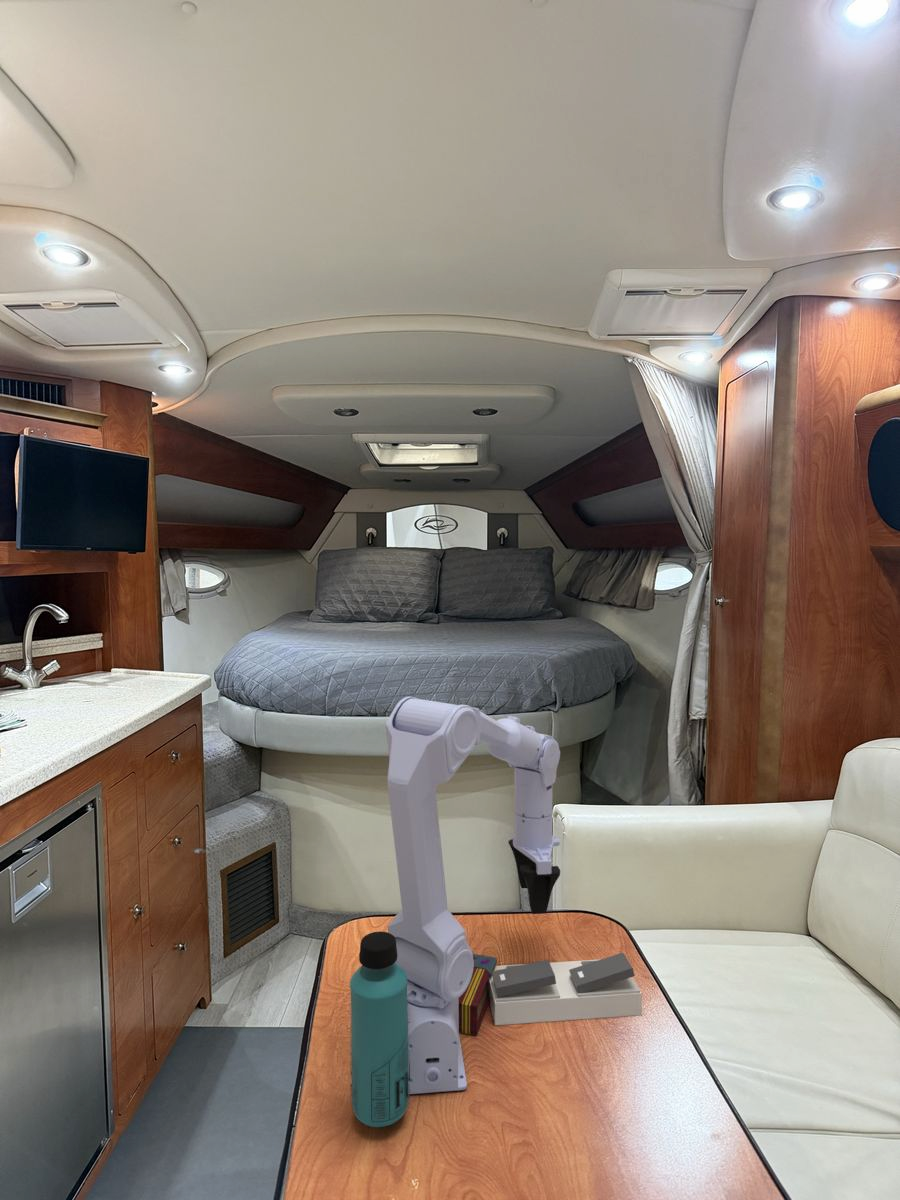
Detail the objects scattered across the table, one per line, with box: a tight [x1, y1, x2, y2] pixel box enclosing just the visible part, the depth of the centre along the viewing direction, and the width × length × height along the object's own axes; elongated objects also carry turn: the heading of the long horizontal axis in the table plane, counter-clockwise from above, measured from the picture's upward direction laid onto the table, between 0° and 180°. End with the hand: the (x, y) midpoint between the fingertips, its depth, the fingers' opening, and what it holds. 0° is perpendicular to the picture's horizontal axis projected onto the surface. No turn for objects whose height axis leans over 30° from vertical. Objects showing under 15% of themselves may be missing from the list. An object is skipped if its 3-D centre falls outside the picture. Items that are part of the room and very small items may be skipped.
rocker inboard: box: [492, 958, 556, 997], centre depth 88 cm, size 4×8×1 cm, turn 96°
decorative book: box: [459, 953, 498, 1037], centre depth 91 cm, size 11×16×5 cm
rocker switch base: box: [488, 959, 643, 1026], centre depth 91 cm, size 8×20×3 cm, turn 96°
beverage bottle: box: [349, 931, 411, 1128], centre depth 71 cm, size 6×7×20 cm
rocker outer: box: [569, 952, 635, 993], centre depth 89 cm, size 4×8×1 cm, turn 96°
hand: (532, 899), depth 99 cm, fingers open, 7 cm apart
